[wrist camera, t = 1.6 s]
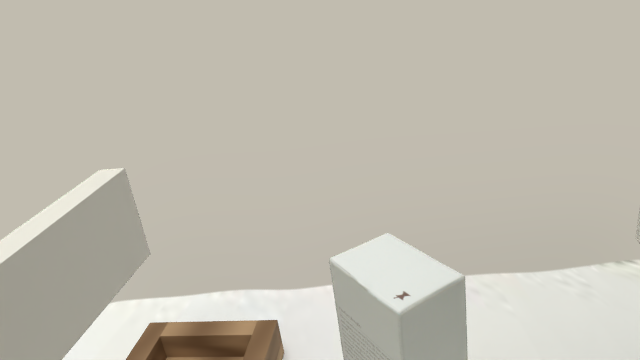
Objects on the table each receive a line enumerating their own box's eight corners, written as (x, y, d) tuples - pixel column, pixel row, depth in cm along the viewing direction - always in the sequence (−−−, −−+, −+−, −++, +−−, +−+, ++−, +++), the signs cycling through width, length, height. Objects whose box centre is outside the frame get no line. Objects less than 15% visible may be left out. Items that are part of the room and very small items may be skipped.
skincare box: (473, 454, 28) (470, 276, 23) (415, 499, 26) (398, 315, 21) (403, 387, 33) (388, 229, 28) (349, 421, 31) (324, 257, 26)
